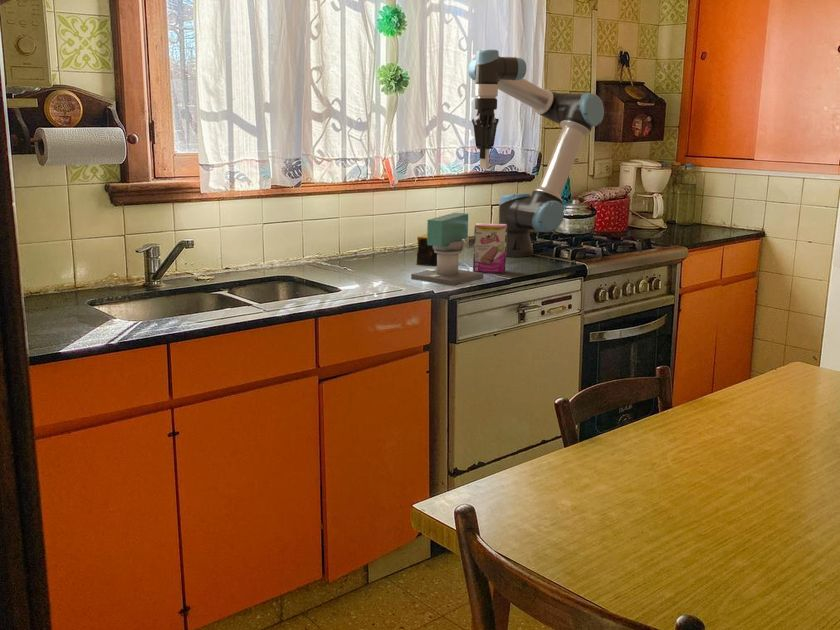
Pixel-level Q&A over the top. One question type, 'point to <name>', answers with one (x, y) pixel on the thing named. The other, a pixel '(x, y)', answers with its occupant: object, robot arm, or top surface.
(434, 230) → the teal boxy piece
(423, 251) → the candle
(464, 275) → the post base
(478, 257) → the candy bar box
